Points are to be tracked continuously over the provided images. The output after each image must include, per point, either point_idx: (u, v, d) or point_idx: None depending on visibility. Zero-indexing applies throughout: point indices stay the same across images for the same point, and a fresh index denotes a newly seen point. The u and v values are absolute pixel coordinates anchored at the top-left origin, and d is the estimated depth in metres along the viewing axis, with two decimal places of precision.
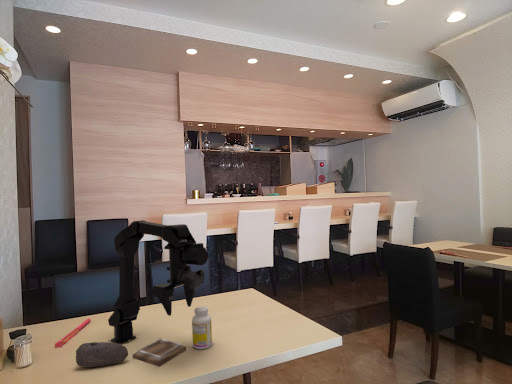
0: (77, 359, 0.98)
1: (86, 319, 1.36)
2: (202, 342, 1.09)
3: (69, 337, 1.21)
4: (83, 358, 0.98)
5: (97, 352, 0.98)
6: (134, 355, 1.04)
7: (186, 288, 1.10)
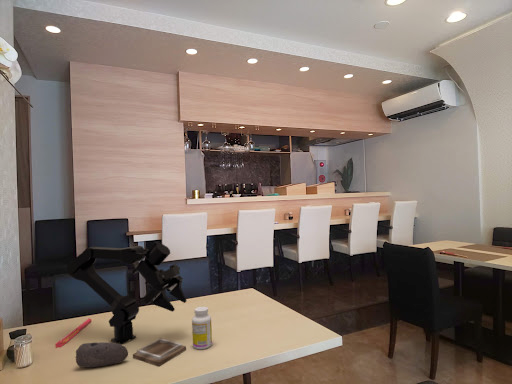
0: (77, 359, 0.98)
1: (87, 319, 1.36)
2: (202, 342, 1.09)
3: (70, 337, 1.21)
4: (83, 358, 0.98)
5: (97, 353, 0.98)
6: (134, 355, 1.04)
7: (173, 292, 1.20)
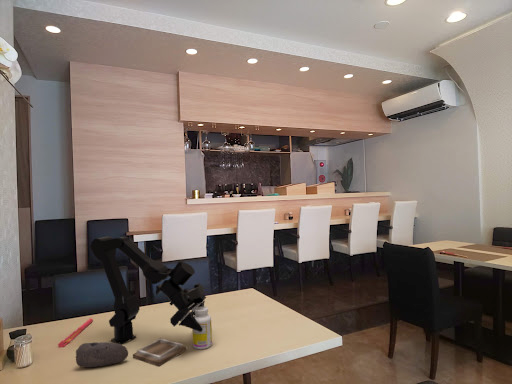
0: (77, 359, 0.98)
1: (88, 319, 1.36)
2: (202, 342, 1.09)
3: (72, 337, 1.21)
4: (83, 358, 0.98)
5: (97, 353, 0.98)
6: (134, 355, 1.04)
7: None
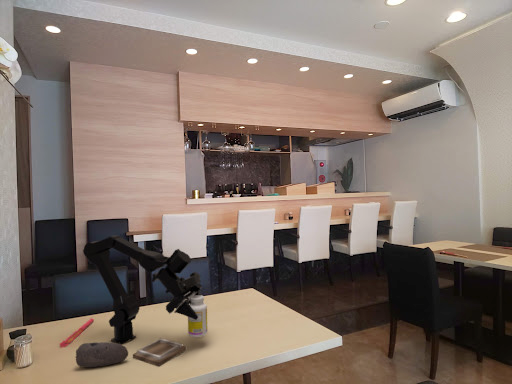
0: (77, 359, 0.98)
1: (89, 319, 1.36)
2: (197, 330, 1.09)
3: (74, 337, 1.21)
4: (83, 358, 0.98)
5: (97, 353, 0.98)
6: (134, 355, 1.04)
7: None
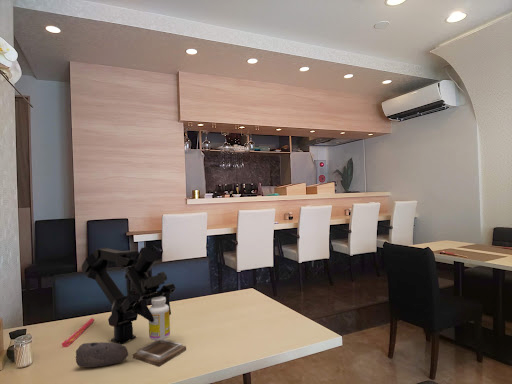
0: (77, 359, 0.98)
1: (90, 319, 1.36)
2: (154, 334, 1.04)
3: (75, 337, 1.21)
4: (83, 358, 0.98)
5: (97, 353, 0.98)
6: (134, 355, 1.04)
7: None
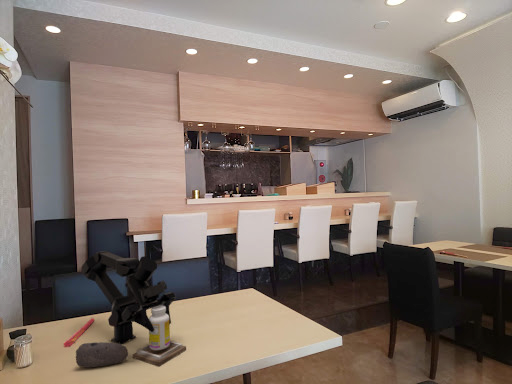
0: (77, 359, 0.98)
1: (90, 319, 1.36)
2: (154, 343, 1.04)
3: (76, 337, 1.21)
4: (83, 358, 0.98)
5: (97, 353, 0.98)
6: (134, 355, 1.04)
7: None
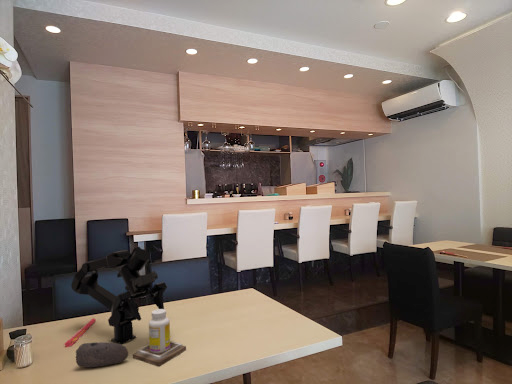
0: (77, 359, 0.98)
1: (91, 319, 1.36)
2: (155, 347, 1.04)
3: (77, 336, 1.21)
4: (83, 358, 0.98)
5: (97, 353, 0.98)
6: (134, 355, 1.04)
7: (155, 299, 1.17)
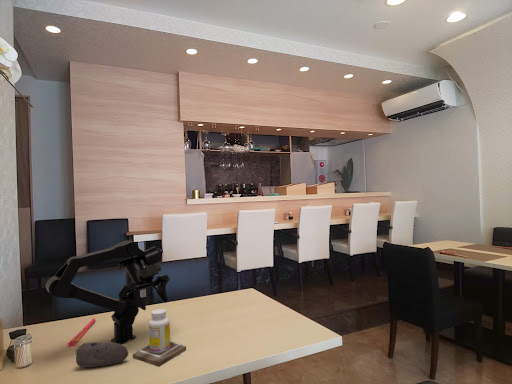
0: (77, 359, 0.98)
1: (91, 319, 1.36)
2: (155, 347, 1.04)
3: (80, 336, 1.21)
4: (83, 358, 0.98)
5: (97, 353, 0.98)
6: (134, 355, 1.04)
7: (158, 291, 1.22)
